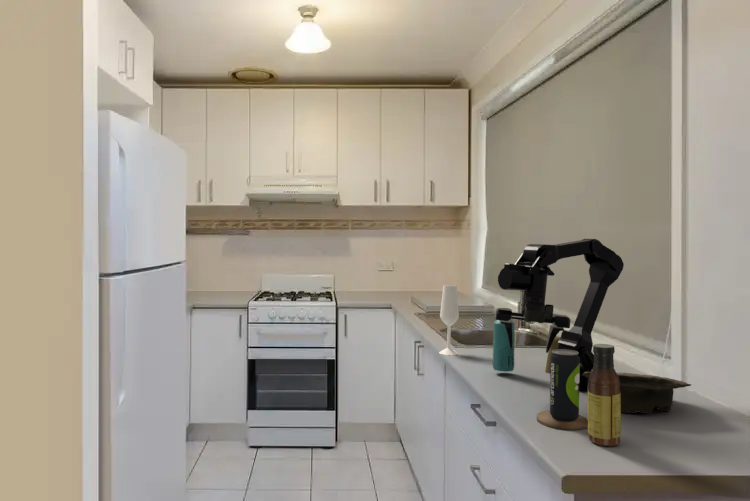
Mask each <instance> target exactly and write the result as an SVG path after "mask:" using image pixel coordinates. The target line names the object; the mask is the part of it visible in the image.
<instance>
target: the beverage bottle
mask: <svg viewBox="0 0 750 501" xmlns="http://www.w3.org/2000/svg"><path fill="white" fill-rule="evenodd" d="M504 308H505V309H509V308H508V307H507V308H506V307H504ZM511 322H512V348H510V344H509V339H508V334H507V331H506V328H505V325H504V324H501V323H500V320H496V319H495V321H494V322H493V341H492V342H493V343H492V345H493V347H492V368H493V370H494V371H497V372H507V373H508V372H512V371H514V370H515V363H516V362H515V361H516V360H515V357H516V356H515V355H516V354H515V343H516V342H515V335H516V334H515V325H516V324H515V322H514V321H513V319H512V320H511Z"/></svg>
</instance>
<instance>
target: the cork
mask: <svg viewBox="0 0 750 501" xmlns="http://www.w3.org/2000/svg"><path fill="white" fill-rule="evenodd" d="M560 338H561V336H558V335H556V337H555V339H554V340H553V343H552V345H551V347H550V349H549V351H548V353H547V358H546V364H545V373H547V374H550V369H551V354H552V350H556V349H558V345H559V343H558V341H559V340H560Z"/></svg>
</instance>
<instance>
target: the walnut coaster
mask: <svg viewBox="0 0 750 501" xmlns="http://www.w3.org/2000/svg"><path fill="white" fill-rule="evenodd" d="M536 421H537V422H538V423H539V424H541V425H542V426H546V427H548V428H551V429H557V430H564V431H565V430H566V431H578V430H583V429H586V428H588V418H587V417H585V416H583V415H581V414H579V417H578V418H577V419H576V420H575V421H560V420H557V419H554V418H553V417H552V415H551V414H550V410H544V411H541V412H538V413H537V414H536Z"/></svg>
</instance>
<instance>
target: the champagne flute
mask: <svg viewBox="0 0 750 501" xmlns="http://www.w3.org/2000/svg"><path fill="white" fill-rule="evenodd" d="M441 294H442V296H441V305H440V309H439V310H440V312H439V318H440V320H441V322H442V323H444V324H445V325H446V326H447V332H446V334H447V335H446V336H447V338H446V348H443V349H442V350H441V351H439V352H438V353H439V354H440V355H445V356H456V355H458V354H459V353H458V351H456V350H454V349H453V348H451V340H452V338H451V337H452V336H451V335H452V333H451V332H452V331H451V330H452V329H451V328H452V326H454V324H456V323H457V321H458V320H459V319H460V314H459V300H458V299H459V297H458V286H457V285H454V284H453V285H452V284H451V285H450V284H444V285H443V286H442V293H441Z"/></svg>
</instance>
